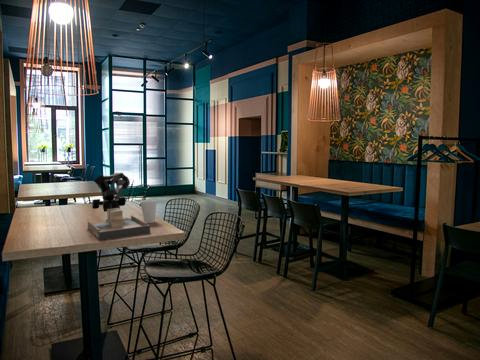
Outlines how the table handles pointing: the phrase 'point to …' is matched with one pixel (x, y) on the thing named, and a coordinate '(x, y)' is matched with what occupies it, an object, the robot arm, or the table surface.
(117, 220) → the birch brick
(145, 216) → the foam cup
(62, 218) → the table surface
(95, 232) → the grey flat rectangular tray
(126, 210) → the table surface
